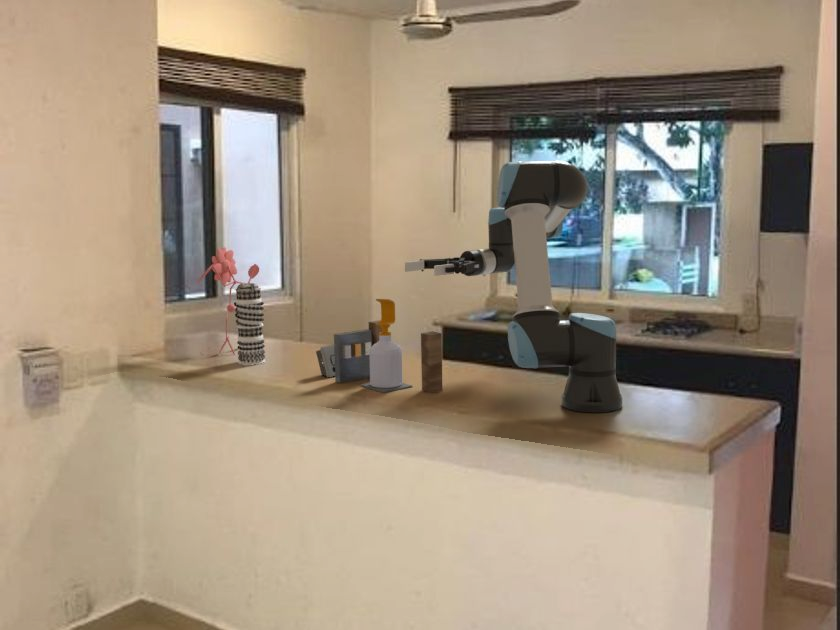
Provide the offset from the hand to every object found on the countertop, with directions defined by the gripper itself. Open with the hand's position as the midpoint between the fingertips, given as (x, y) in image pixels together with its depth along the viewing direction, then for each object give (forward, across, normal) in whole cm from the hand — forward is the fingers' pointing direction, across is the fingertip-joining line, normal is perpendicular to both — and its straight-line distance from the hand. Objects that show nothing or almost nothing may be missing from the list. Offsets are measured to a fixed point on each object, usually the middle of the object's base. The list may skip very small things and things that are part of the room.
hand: (419, 268), depth 268 cm
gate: (+6, 0, -32) cm, 33 cm away
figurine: (+23, +78, -32) cm, 87 cm away
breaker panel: (+15, +13, -32) cm, 38 cm away
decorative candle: (+26, +55, -32) cm, 69 cm away
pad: (+13, 0, -32) cm, 34 cm away
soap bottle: (+13, 0, -32) cm, 34 cm away
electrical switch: (+16, +23, -32) cm, 43 cm away
